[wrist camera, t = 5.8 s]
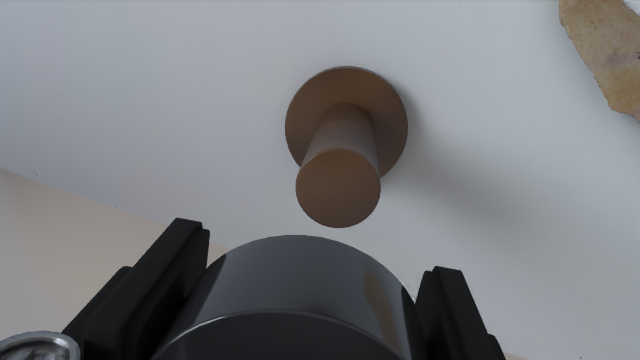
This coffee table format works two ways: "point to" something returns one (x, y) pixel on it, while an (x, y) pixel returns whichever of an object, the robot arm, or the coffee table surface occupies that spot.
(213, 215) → the coffee table surface
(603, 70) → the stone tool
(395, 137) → the wooden peg stand
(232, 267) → the dark gray cylinder
